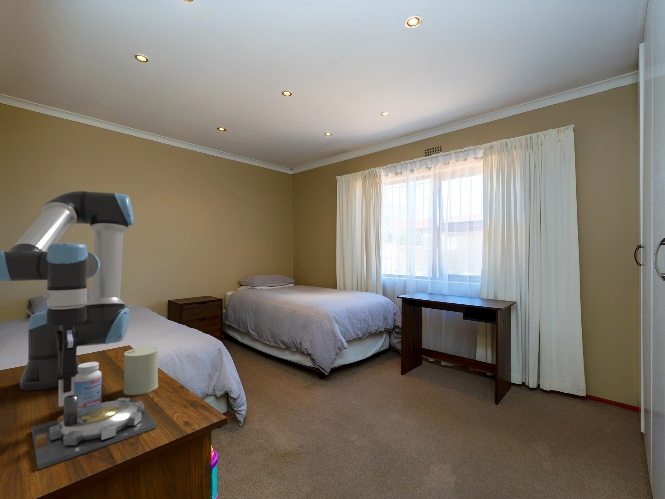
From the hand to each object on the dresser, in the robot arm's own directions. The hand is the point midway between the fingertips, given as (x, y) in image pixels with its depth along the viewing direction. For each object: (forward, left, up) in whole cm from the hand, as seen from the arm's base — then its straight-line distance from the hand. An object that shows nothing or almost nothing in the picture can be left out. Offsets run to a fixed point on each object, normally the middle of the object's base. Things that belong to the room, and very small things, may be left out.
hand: (66, 403), depth 78 cm
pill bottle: (-9, +6, -5) cm, 12 cm away
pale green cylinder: (-11, +19, -5) cm, 22 cm away
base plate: (+7, +6, -5) cm, 11 cm away
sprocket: (+7, +6, -4) cm, 10 cm away
